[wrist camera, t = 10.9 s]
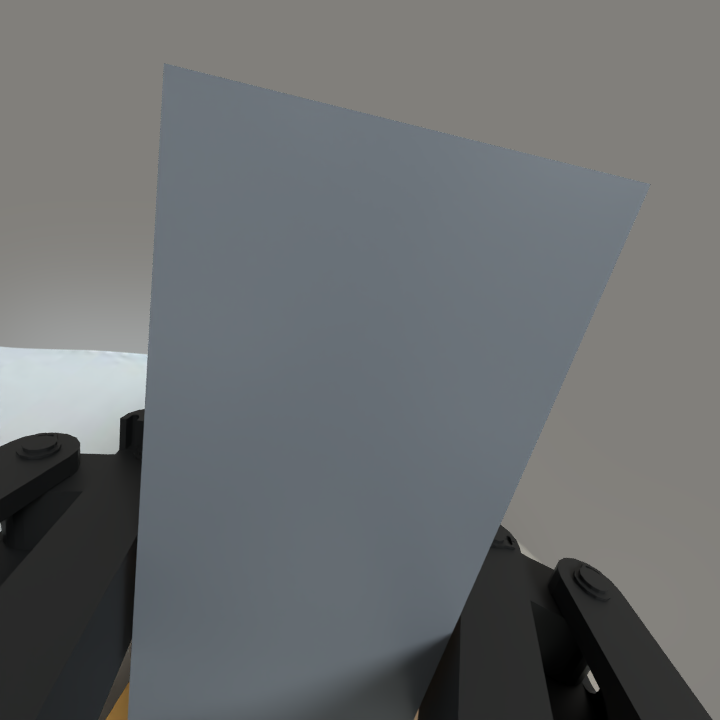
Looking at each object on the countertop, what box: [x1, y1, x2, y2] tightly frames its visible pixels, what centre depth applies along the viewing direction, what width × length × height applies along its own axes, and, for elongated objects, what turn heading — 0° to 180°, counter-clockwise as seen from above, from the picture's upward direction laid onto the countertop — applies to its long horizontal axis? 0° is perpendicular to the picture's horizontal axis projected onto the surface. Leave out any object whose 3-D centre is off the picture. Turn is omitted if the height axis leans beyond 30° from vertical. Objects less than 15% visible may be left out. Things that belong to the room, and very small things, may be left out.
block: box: [128, 64, 650, 720], centre depth 10 cm, size 8×5×17 cm, turn 176°
